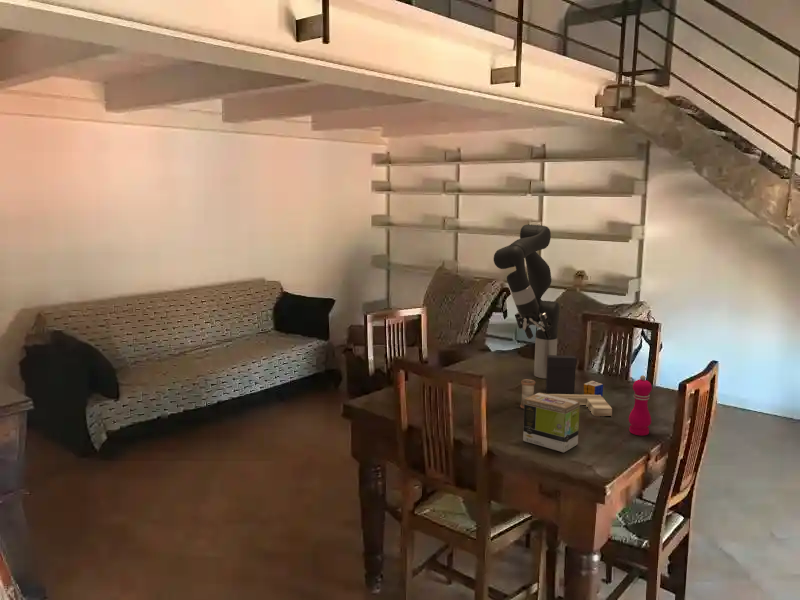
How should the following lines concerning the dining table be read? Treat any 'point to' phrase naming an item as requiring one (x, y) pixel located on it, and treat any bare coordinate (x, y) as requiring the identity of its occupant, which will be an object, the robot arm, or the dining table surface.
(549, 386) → the black rectangular block
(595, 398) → the notch board
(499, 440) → the dining table surface
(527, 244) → the robot arm
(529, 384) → the spool
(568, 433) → the tea box
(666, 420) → the dining table surface
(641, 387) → the pepper mill
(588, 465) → the dining table surface
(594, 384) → the puzzle toy
